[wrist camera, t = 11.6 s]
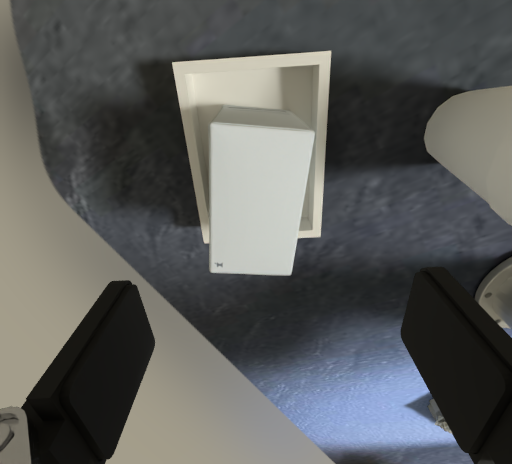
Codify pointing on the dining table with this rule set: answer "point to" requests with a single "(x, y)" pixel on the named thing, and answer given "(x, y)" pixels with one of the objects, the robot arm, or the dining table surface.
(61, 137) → the dining table surface
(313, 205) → the trough
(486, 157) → the foam cup
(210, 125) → the skincare box
